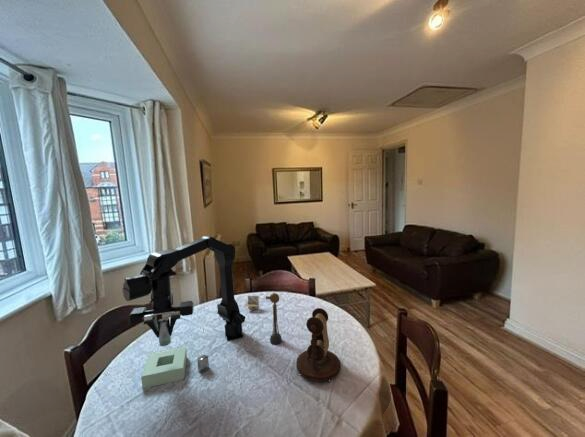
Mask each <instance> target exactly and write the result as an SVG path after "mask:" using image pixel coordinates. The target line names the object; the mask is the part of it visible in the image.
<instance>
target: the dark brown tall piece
mask: <svg viewBox="0 0 585 437" xmlns="http://www.w3.org/2000/svg"><path fill="white" fill-rule="evenodd" d="M328 320H329V314H328V312H327V311H326V310H325V309H324V308H321V307H317V308H315V309H313V311H312V313H311V317H310V318H308V319H307V320H306V329H307V330H308V331H309V332H310V334H311V340H310V344H309V345H308V347H307V348H306V349H307V350H305V351H303V352H302V353H300V354H299V355H298V356H297V358H296V361H295V362H296V369H297V372H298V373H299V375H300V374H301V375H300V376H302V377H303V378H306V379H308V380H311V381H317V382H323V381H328V380H330V379H331V380H332V379H333V378H335V377H337V376H338V375H339V373H340V371H341V368H342V365H341V360H340V358H339V357H338V356H337V355H336V354H335V353H333V352H332V351H330V350H329V347H330V340H329V335H328V334H329V333H328V325H327V324H328V323H327V322H328Z"/></svg>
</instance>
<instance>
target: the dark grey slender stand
mask: <svg viewBox="0 0 585 437" xmlns="http://www.w3.org/2000/svg"><path fill="white" fill-rule="evenodd" d="M265 299H266V300H270V302H271V303H272V315H273V316H272V319H273V320H272V321H273V322H272V323H273V326H272V334H271V335H270V339H269V341H270V344H271V345H275V346H276V345H281V343H282V342H283V339H282V336H281V333H280V332H279V326H278V325H279V323H278V312H277V310H278V309H277V308H278V307H277V306H278V305H277V303H278V302H280V295H279V294H278V293H275V292H273V293H271V294H270V296H265Z"/></svg>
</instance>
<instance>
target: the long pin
mask: <svg viewBox="0 0 585 437" xmlns="http://www.w3.org/2000/svg"><path fill="white" fill-rule="evenodd" d="M157 324H158V333H159V338H158V343H159V345H158V346H160V347H166V346H169V345H170V344H171V342H172V338H171V336H172V335H171V336H170V318H169V317H163V318H160V319H158V320H157Z"/></svg>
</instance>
